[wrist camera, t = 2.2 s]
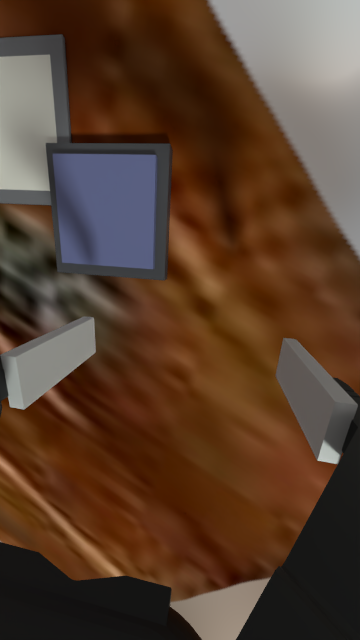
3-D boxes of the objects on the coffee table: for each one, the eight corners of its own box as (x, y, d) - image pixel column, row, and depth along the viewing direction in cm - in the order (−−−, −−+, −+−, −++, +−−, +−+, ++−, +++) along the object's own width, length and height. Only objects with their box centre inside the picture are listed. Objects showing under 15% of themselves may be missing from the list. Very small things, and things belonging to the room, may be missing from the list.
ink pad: (65, 271, 24) (53, 272, 22) (54, 149, 20) (40, 139, 19) (166, 279, 22) (163, 281, 21) (172, 150, 19) (168, 140, 17)
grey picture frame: (-36, 201, 23) (-39, 201, 23) (-67, 45, 20) (-71, 41, 19) (75, 206, 22) (73, 205, 21) (64, 37, 18) (62, 34, 18)
